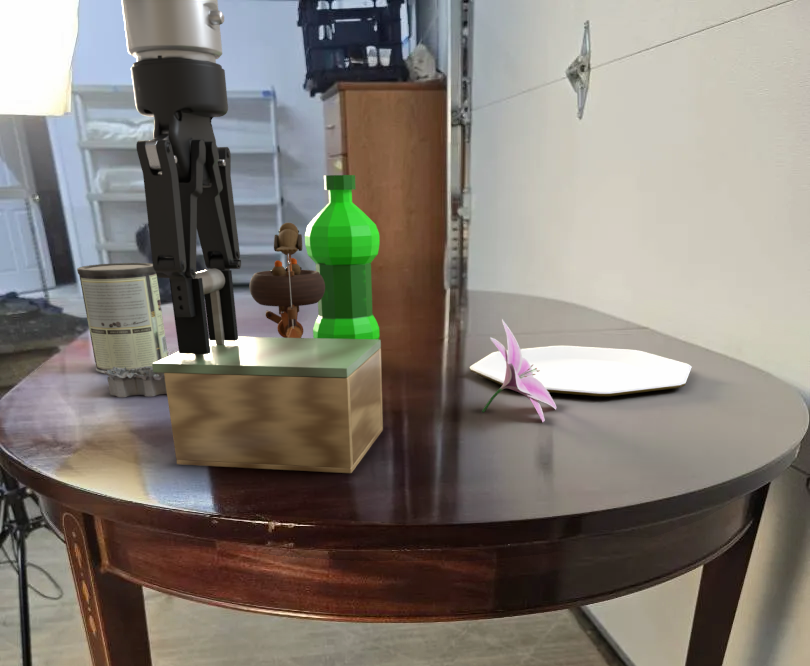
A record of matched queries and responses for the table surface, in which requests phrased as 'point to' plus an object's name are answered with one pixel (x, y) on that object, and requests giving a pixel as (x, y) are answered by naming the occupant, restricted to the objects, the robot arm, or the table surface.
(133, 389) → the egg carton
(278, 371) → the lid
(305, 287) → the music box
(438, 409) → the table surface
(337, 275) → the plastic bottle
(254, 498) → the table surface
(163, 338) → the coffee can
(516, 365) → the lily
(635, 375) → the plate
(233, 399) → the tan wooden box
